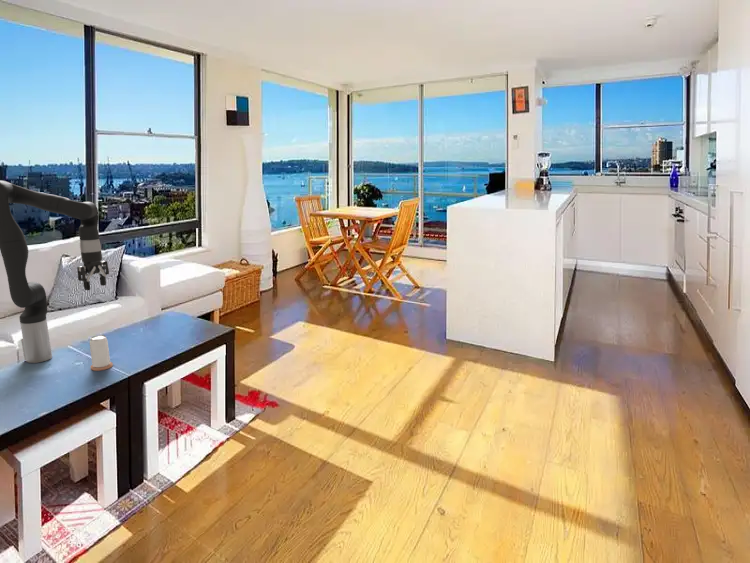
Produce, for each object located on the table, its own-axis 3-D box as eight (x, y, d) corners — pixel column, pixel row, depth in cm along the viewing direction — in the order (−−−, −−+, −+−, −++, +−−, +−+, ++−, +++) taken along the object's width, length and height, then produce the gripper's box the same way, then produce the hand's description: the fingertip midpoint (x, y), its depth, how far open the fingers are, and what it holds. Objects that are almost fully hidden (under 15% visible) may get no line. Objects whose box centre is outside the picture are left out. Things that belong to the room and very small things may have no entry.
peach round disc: (86, 369, 203) (85, 367, 203) (101, 362, 211) (100, 360, 210) (102, 371, 201) (102, 369, 201) (117, 364, 209) (117, 362, 209)
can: (113, 362, 209) (110, 335, 206) (103, 368, 202) (100, 340, 200) (99, 361, 209) (95, 334, 207) (89, 367, 203) (85, 339, 200)
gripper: (96, 247, 217) (101, 283, 221) (69, 252, 204) (74, 291, 207) (111, 247, 215) (115, 284, 219) (84, 253, 202) (89, 292, 205)
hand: (95, 287), depth 213 cm, fingers open, 8 cm apart
